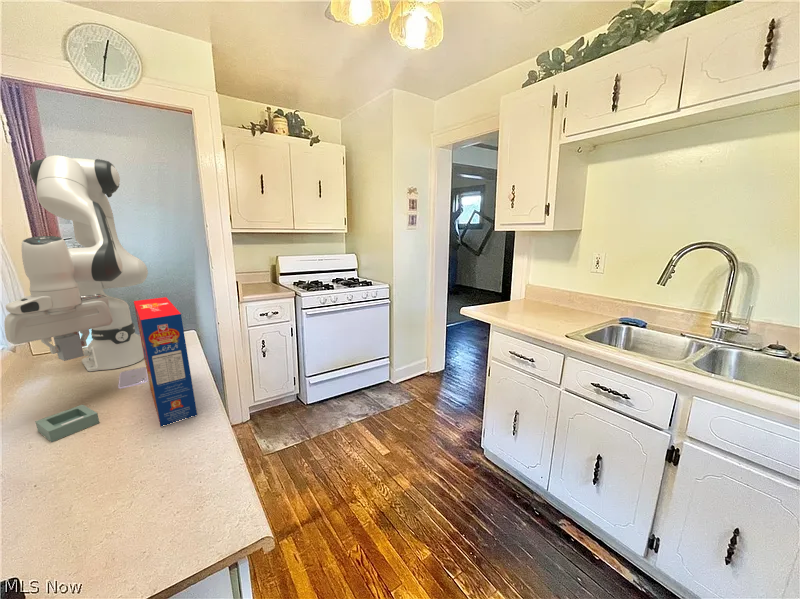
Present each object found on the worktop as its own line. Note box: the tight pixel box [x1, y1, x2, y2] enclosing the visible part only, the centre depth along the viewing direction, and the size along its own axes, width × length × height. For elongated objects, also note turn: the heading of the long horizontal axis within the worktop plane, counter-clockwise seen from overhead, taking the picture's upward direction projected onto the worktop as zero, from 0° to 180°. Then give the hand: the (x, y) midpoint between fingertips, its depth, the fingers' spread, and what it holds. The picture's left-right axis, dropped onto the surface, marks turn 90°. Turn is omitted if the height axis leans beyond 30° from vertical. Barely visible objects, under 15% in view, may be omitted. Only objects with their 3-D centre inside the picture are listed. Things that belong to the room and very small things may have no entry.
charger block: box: [52, 332, 85, 362], centre depth 90 cm, size 4×4×6 cm
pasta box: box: [133, 296, 198, 427], centre depth 94 cm, size 28×8×28 cm, turn 41°
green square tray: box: [35, 404, 100, 443], centre depth 84 cm, size 9×9×3 cm
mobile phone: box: [117, 366, 149, 389], centre depth 112 cm, size 8×1×15 cm
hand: (69, 349), depth 90 cm, fingers closed on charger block, 4 cm apart
